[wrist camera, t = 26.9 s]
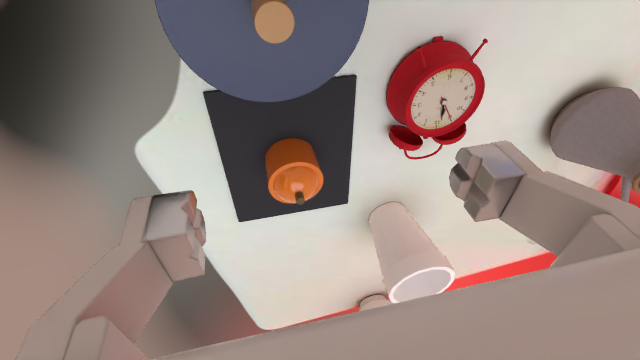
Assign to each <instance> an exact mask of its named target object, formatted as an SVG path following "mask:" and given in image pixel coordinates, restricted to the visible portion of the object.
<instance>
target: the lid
mask: <svg viewBox="0 0 640 360" xmlns="http://www.w3.org/2000/svg"><path fill="white" fill-rule="evenodd" d="M155 4H156V7H157V11H158V15H159V18H160V21H161V23H162V25H163V28H164V31H165V33H166V35H167V37H168V38H169V40H170V42H171V44H172V46H173V47H174V49H175V50H176V52H177V53H178V54H179V56H180V57H181V58H182V60H183V61H184V62H185V63H186V64H187V65H188V66H189V68H190V69H191V70H193V71H194V72H195V73H196V74H197V75H198V76H199V77H200V78H202V79H203V80H204V81H206V82H207V83H209V84H210V85H211V86H213V87H215V88H217V89H219V90H220V91H222V92H224V93H227V94H229V95H232V96H234V97H238V98H241V99H244V100H250V101H255V102H280V101H285V100H291V99H294V98H297V97H300V96H303V95H305V94H307V93H310V92H312V91H313V90H315V89H317V88H319V87H320V86H322V85H323V84H324V83H326V82H327V81H328V80H330V79H331V78H332V77H333V76H334V75H335V74H336V73H337V72H338V71H339V70H340V69H341V68H342V66H343V65H344V64H345V63H346V62H347V60H348V59H349V57H350V56H351V54H352V52H353V51H354V49H355V47H356V45H357V43H358V41H359V39H360V36H361V33H362V31H363V28H364V24H365V20H366V16H367V11H368V4H369V0H155Z"/></svg>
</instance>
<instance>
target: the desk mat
mask: <svg viewBox="0 0 640 360" xmlns="http://www.w3.org/2000/svg"><path fill="white" fill-rule="evenodd" d="M356 77H357V76H356V75H350V76H341V77H332V78H331V79H330V80H328V81H327V82H326V83H324V84H323V85H322V86H320V87H319V88H317V89H315V90H313V91H312V92H310V93H307V94H305V95H303V96H300V97H297V98H294V99H291V100H285V101H280V102H255V101H250V100H244V99H241V98H238V97H234V96H232V95H229V94H227V93H224V92H222V91H220V90H216V91H207V92H203V94H204V98H205V102H206V105H207V109H208V112H209V116H210V120H211V123H212V127H213V130H214V134H215V138H216V141H217V145H218V148H219V152H220V156H221V159H222V163H223V166H224V170H225V174H226V177H227V181H228V184H229V188H230V192H231V195H232V199H233V202H234V206H235V209H236V213H237V217H238V220H239V222H244V221H249V220H255V219H261V218H267V217H273V216H278V215H284V214H290V213H296V212H301V211H307V210H313V209H319V208H324V207H330V206H336V205H342V204H347V203H348V194H349V179H350V165H351V150H352V135H353V121H354V106H355V92H356ZM289 138H296V139H301V140H304V141H306V142H308V143H309V144H310V145H311V146H312V147H313V149H314V151H315V154H316V157H317V159H318V162H319V165H320V168H321V171H322V174H323V185H322V187H321V189H320V191H319V192H318V193H317V194H316V195H315V196H313V197H312V198H310V199H308V200H306V201H305V202H304V203H303V204H297V203H284V202H281V201H278V200H277V199H275V198H274V197H273V196H272V195H271V194H270V192H269V189H268V183H267V176H266V170H265V163H264V159H265V155H266V153H267V151H268V150H269V148H270V147H271V146H272V145H274V144H275V143H277V142H279V141H281V140H284V139H289Z"/></svg>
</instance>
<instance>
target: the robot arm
mask: <svg viewBox="0 0 640 360" xmlns="http://www.w3.org/2000/svg"><path fill="white" fill-rule="evenodd" d="M455 159H456V161H457V162H458V163H457V164H456V165H455V166H454V167H453V168H452V169H451V173H450V176H449V179H450V186H451V189H452V191H453V193H454V194H455V195H456V197H458V198H460V199H462V200H464V208H465V209H466V210H467V212H468V213H469V214H470V216H471V217H472V218H473V220H474V221H475V222H478V221H484V220H490V219H496V218H500V220H502V221H503V222H505V223H506V224H508V225H509V226H511V227H513V228H514V229H516V230H517V231H519V232H520V233H522V234H524V235H525V236H527V237H528V238H530V239H531V240H533V241H535V242H536V243H538V244H539V245H541V246H542V247H544V248H546V249H547V250H549V251H550V252H552V253H553V254H555V255H557V256H558V257H557V258H556V259H555V261H554V262H553V263H552V264H551V266H550V268H548V269H544V270H539V271H535V272H531V273H526V274H522V275H517V276H513V277H509V278H504V279H500V280H495V281H491V282H486V283H482V284H478V285H473V286H469V287H464V288H460V289H456V290H452V291H447V292H442V293H438V294H433V295H429V296H425V297H420V298H416V299H411V300H407V301H403V302H398V303H394V304H389V305H385V306H381V307H376V308H372V309H368V310H363V311H359V312H354V313H350V314H346V315H341V316H337V317H333V318H328V319H324V320H319V321H315V322H311V323H306V324H302V325H297V326H293V327H288V328H284V329H280V330H275V331H271V332H267V333H263V334H258V335H253V336H249V337H245V338H240V339H236V340H231V341H227V342H223V343H218V344H214V345H209V346H205V347H201V348H196V349H192V350H188V351H183V352H179V353H174V354H170V355H165V356H161V357H157V358H152V359H148V358H147V357H146V356H145V355H144V354H143V353H142V352H141V351H140V350H139V349H137V347H136V346H135V345H134V343H135V341H136V340H137V338H138V336H139V335H140V334H141V332H142V330H143V329H144V327H145V326H146V324H147V323H148V321H149V319H150V318H151V317H152V315H153V314H154V312H155V310H156V309H157V307H158V306H159V304H160V303H161V301H162V300H163V298H164V296H165V295H166V293H167V292H168V290H169V289H170V287H171V286H172V284H173V282H174V281H178V280H183V279H187V278H192V277H196V276H200V275H204V271H205V253H204V250H203V248H202V246H203V245H204V243H205V242H206V229H205V222H204V218H203V215H202V212H201V210H199V209H197V208H196V205H197V199H196V197H195V195H194V192H193V191H191V190H190V191H183V192H175V193H168V194H161V195H154V196H148V197H140V198H135V199H133V200H132V201H131V203H130V207H129V210H128V214H127V217H126V221H125V225H124V228H123V231H122V235H121V239H120V242H119V246H118V247H114V248H112V249H110V250H109V251H108V252H107V253H106V254H105V255H104V256H103V257H102V258H101V259H100V260H99V261H98V262H97V263H96V264H95V265H94V266H93V267H92V268H91V269H90V270H89V271H88V272H87V273H86V274H85V275H83V276H82V277H81V278H80V279H79V280H78V281H77V282H76V283H75V284H74V285H73V286H72V287H71V288H70V289H69V290H68V291H67V292H66V293H65V294H64V295H63V296H62V297H61V298H60V299H59V300H58V301H57V302H56V303H54V305H52V306H51V307H50V308H49V309H48V310H47V311H46V312H45V313H44V314H43V315H42V316H41V317H40V318H39V319H38V320H37V321H36V322H35V323H34V324H33V325H32V326H31V327H30V328H29V329H28V331H27V333H26V336H25V338H24V340H23V343H22V345H21V347H20V350H19V352H18V354H17V356H16V359H15V360H640V209H639V208H638V207H637V206H635V205H633V204H630V203H628V202H625V201H622V200H620V199H617V198H615V197H612V196H610V195H607V194H604V193H602V192H599V191H597V190H594V189H592V188H589V187H587V186H584V185H581V184H579V183H576V182H574V181H571V180H569V179H566V178H563V177H561V176H558V175H556V174H553V173H551V172H548V171H547V172H543V171H542V170H541V169H539V168H538V167H537V166H536V165H535V164H534V163H533V162H532V161H531V160H529V159H528V158H527V157H526V156H525V155H524V154H523V153H522V152H521V151H519V150H518V149H517V148H516V147H515V146H514V145H513V144H512V143H510V142H508V141H500V142H494V143H490V144H484V145H478V146H472V147H465V148H461V149H460V150H459V151H458V152H457V155H456V158H455Z"/></svg>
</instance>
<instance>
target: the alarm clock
mask: <svg viewBox="0 0 640 360" xmlns="http://www.w3.org/2000/svg"><path fill="white" fill-rule="evenodd" d="M434 39H435V40H434V42H433V43H430V44H427V45H425V46H422V47H418V48H417V50H416V51H414V52H413V53H411V54H410V55H409V56H408V57H407V58H405V59H404V60H403V61H402V63H401V64H400V65H399V66H398V68H397V69H396V71H395V72H394V74H393V76H392V78H391V80H390V82H389V85H388V89H387V105H388V109H389V111H390V113H391V114H392V116H393V117H394V118H395V119H396V120H397V121H398V122H400V123H402V124H404V125H406V126H407V127H408V128H406V127H403V126H392V127H391V128H390V131H389V138H390V140H391V141H392V142H393V144H395V145H396V146H397V147H399V149H404V153H405V155H406V157H408V158H409V159H423V158H427V157H430V156H432V155H434V154H436V153H437V152H438V151H439V150H440V149H441V148H442V146H443V145H449V144H453V143H456V142H458V141H459V140H461V139H462V138H463V136H464V135H465V133H466V124H465V123H464V122H466V121H467V120H468V119H469V118H470V117H471V116H472V114H473V113H474V112H475V110H476V109H477V107H478V106H479V104H480V102H481V100H482V97H483V94H484V88H485V82H484V77H483V75H482V72H481V70H480V69H479V67H478V66H477V65H476V64H474V63H473V59H474V57H475V56H476V55H477V53H478V52H479V50H480V49H481V48H482V46H483V45H484V44H485V43H487V42H488V40H486V39H484V40H483V43H482V44H481V45H480V47H479V48H478V49H477V50H476V51H475V52H474V54H473V55H472V56H470V54H469V52H468V51H467V50H466V49H465V48H463V47H462V46H461V45H459V44H457V43H454V42H450V41H443V37H434ZM419 135H420V136H423V138H424V139H427V138H428V137H432V139H433V140H434V141H435V142H437V143H439V144H441V145H440V147H439V149H438V150H437V151H435V152H434V153H432V154H430V155H427V156H423V157H410V156H408V155H407V152H406V150H408V151H415V150H417V149H419V148H420V147H421V145H422V144H423V141H422V139H421V137H420V136H419Z"/></svg>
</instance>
